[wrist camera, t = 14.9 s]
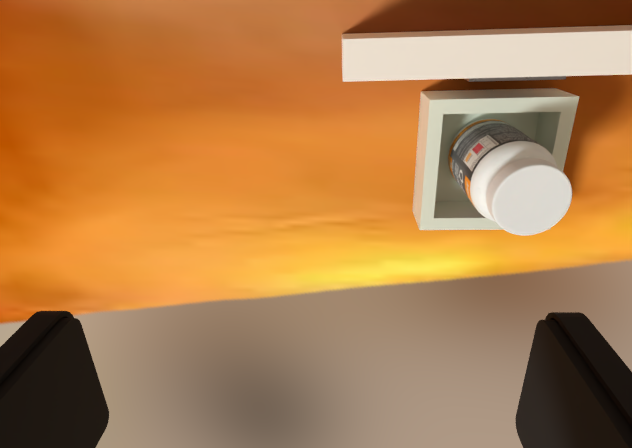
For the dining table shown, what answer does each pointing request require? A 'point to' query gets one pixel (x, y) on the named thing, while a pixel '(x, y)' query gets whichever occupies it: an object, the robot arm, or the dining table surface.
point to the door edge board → (488, 54)
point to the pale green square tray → (458, 111)
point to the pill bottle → (509, 177)
